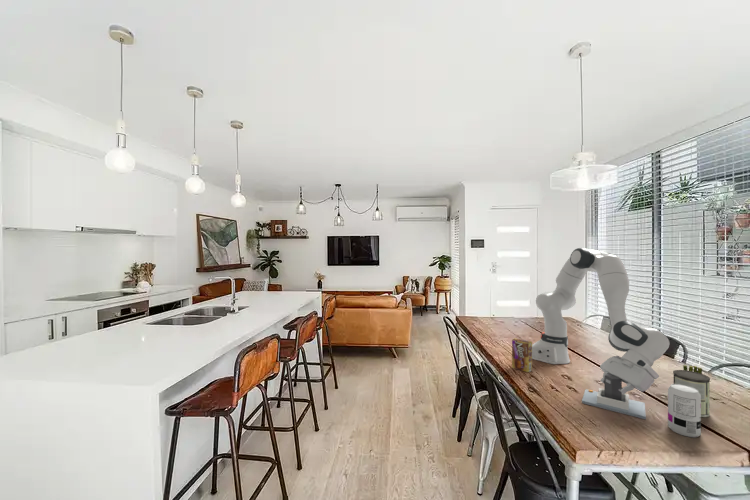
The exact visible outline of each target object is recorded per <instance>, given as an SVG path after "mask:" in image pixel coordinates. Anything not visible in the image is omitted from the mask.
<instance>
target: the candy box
mask: <svg viewBox="0 0 750 500" xmlns="http://www.w3.org/2000/svg"><path fill="white" fill-rule="evenodd" d="M532 344H533V341H530V340H526V339H522V338H512V339H511V368H512V369H515V370H519V371H522V372H526V373H530V372H532V371H533V365H532V364H533V362H532V361H533V359H532Z"/></svg>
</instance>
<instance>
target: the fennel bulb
mask: <svg viewBox="0 0 750 500" xmlns="http://www.w3.org/2000/svg"><path fill="white" fill-rule="evenodd" d="M682 367H683V370H687V371H692V372H697V373H700V374H702V373H703V368H702V367H698V366H696V365H693V366H692V365H689V366H688V365H686V364H685V365H684V364H683V365H682Z"/></svg>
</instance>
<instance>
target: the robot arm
mask: <svg viewBox="0 0 750 500" xmlns="http://www.w3.org/2000/svg"><path fill="white" fill-rule="evenodd" d="M563 264H564V265H562V267H561V269H560V271H559V273H558V275H557V276H556V278H555V283H556V288H555V289H554V290H553V291H545V292H541V293H540V294H538V295H537V297H536V299H535V304H536V306H537V308H538V309H539V310H540V312H541V313H542V315H543V321H544V331H542V333H541V334H540V339H539V340H537V341H535V342H534V343H532V360H535V361H539V362H543V363H547V364H550V365H565V364H570V363H571V360H570V357H569V349H568V346H569V338H568V337H569V336H568V324H567V321H566V319H564V317H563V315H562V311H568V310H569V309H571V308H573V307H575V305H576V303H577V302H576V299H577V298H576V292H577V291H578V290H577V289H578V287H579V286H580V284H581V283H582V282H583V279H584V277H585V276H586V274H587V273H588V272H591V273H594V272H595V273H597V278H598V283H599V286H600V289H601V293H602V294H603V298H604V300H605V304H606V306H607V311H608V318H609V322H610V331H609V333H608V339H607V341H608V343H609V344H610V346H612V347H613V349H615V350H618V351H620V352H625V353H624V354H623V355H621V356H620V355H614V356H611V357H609V358H607V359H606V360H604V362H602V363H601V364H600V366H599V367H600V370H601V371H602V372H603V375H602V378H601V379H600V382H601V383H602V384H604V377H605V375H614V376H616V377H619V378H621V379H622V383H624V384H625V386H622V387H620V389H619V391H620V392H621V393H622V394H627V392H631V391H633V390H634V389H636V390H638V391H640V392H645V391H648V390H649V389H650V387H652V385H653V384H654V383H655V380H656V379H658V378H659V377H660V375H659V374H658V373H657V372H656V370H655V369H654V368H652V367H653V366H654V363H655V362H656V361H657V360H659V359H660V358H661V357H662V356H664V354H665V353H666V351H667V350H668V349H669V347H670V339H669V338H668V337H667V336H666V334H665V333H663V332H662V331H660V330H659V329H656V328H652V327H651V328H648V327H645V326H641V325H638V324H636V323H634V322H632V321H628V319H627V314H626V301H627V297H628V296H629V291H630V280H629V276H628V273H627V270H626V267H625V265H624V262H623V260H622V259H621V258H620V257H619V256H617V255H614V254H613V253H610V252H605V251H603V250H598V249H590V248H586V247H579V248H575V249H574V250H573V251H572V252H571V254H570V257H569V258H568V259H567V261H565V263H563Z"/></svg>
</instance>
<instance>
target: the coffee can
mask: <svg viewBox="0 0 750 500" xmlns="http://www.w3.org/2000/svg"><path fill="white" fill-rule="evenodd" d="M687 370H688V369H687ZM687 370H684V369H675V370H673V371H672V372H673V373H672V374H673V384H681V385H686V386H690V387H693V388H695V389H697V390H698V392H699V393H700V395H701V418H709V417H710V415H711V414H710V413H711V412H710V403H711V402H710V392H711V391H710V386H711V384H710V381H711V378H710V377H709V376H708V375H706V374H700V373H697V372H694V371H693V372H692V371H689V370H688V371H687Z"/></svg>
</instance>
